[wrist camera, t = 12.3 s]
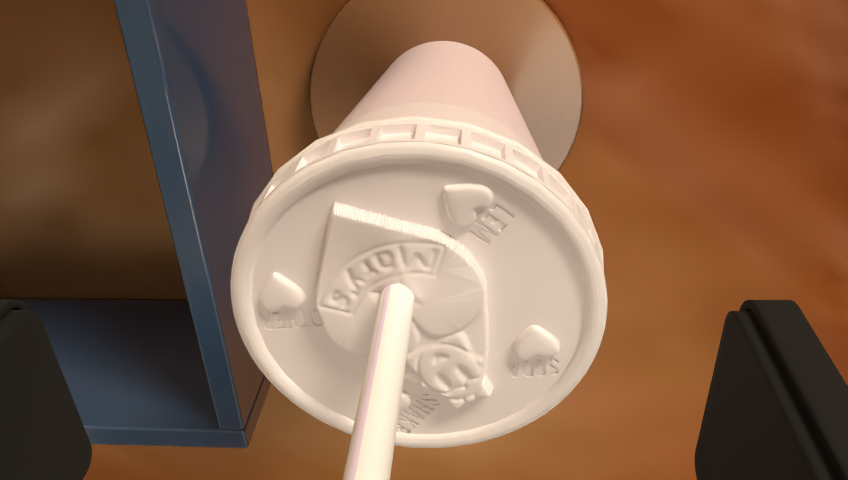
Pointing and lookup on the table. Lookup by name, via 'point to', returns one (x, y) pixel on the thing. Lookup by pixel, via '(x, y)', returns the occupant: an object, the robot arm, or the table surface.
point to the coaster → (464, 23)
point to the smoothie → (422, 267)
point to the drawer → (179, 243)
